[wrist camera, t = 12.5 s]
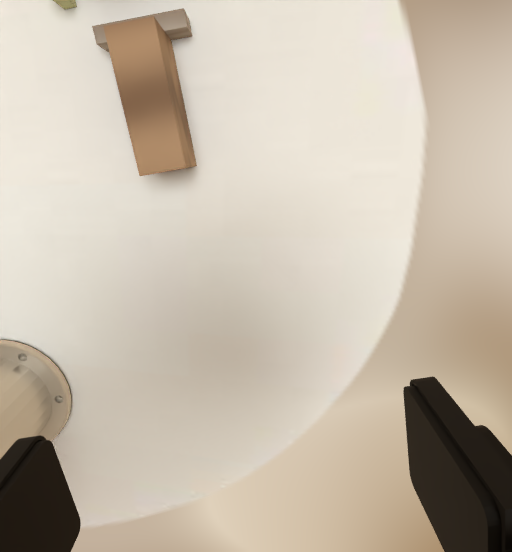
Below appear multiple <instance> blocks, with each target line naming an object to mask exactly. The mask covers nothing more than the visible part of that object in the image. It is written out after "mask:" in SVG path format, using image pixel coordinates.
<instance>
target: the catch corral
mask: <svg viewBox="0 0 512 552" xmlns="http://www.w3.org/2000/svg"><path fill="white" fill-rule="evenodd" d="M53 1H55V2H56V3H57V4H59V5H60V6H61V7H62V8H64V9H68V8H73V7H77V6H76V2H75V0H53Z"/></svg>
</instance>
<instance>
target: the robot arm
mask: <svg viewBox="0 0 512 552" xmlns="http://www.w3.org/2000/svg"><path fill="white" fill-rule="evenodd" d="M404 404H405V417H406V430H407V443H408V456H409V470H410V476H411V480H412V483H413V486H414V489H415V491H416V493H417V495H418V497H419V499H420V501H421V503H422V506H423V507H424V510H425V512H426V514H427V516H428V518H429V520H430V522H431V524H432V526H433V528H434V530H435V533H436V535H437V537H438V539H439V541H440V543H441V545H442V547H443V549H444V551H445V552H512V455H511V454H510V453H509V452H508V451H507V450H506V448H505V447H504V446H503V445H502V444H501V443H500V442H499V440H498V439H497V438H496V437H495V436H494V435H493V433H492V432H491V431H490V430H489V429H488V428H487V427H485V426H483V425H480V426H474V425H473V423H472V422H471V421H470V420H469V418H468V417H467V416H466V415H465V414H464V412H463V411H462V410H461V409H460V407H459V406H458V405H457V404H456V402H455V401H454V400H453V399H452V398H451V396H450V395H449V394H448V393H447V392H446V390H445V389H444V388H443V387H442V385H441V384H440V383H439V382H438V380H437V379H436V378H435V377H427V378H421V379H414V380H411V382H410V386H407V387H404ZM70 410H71V394H70V390H69V386H68V384H67V382H66V380H65V377H64V376H63V374H62V373H61V371H60V370H59V368H58V367H57V366H56V365H55V364H54V363H53V362H52V361H51V360H50V359H49V358H48V357H46V356H45V355H44V354H42V353H41V352H39V351H38V350H36V349H34V348H32V347H30V346H28V345H25V344H21V343H18V342H15V341H8V340H0V552H71V549H72V547H73V545H74V543H75V541H76V539H77V537H78V534H79V531H80V517H79V514H78V512H77V509H76V506H75V503H74V501H73V498H72V495H71V493H70V490H69V487H68V484H67V482H66V479H65V476H64V474H63V471H62V468H61V465H60V463H59V460H58V457H57V455H56V452H55V449H54V446H53V444H52V442H51V441H52V440H53V439H54V438H55V437H56V436H57V435H58V434H59V433H60V431H61V430H62V428H63V427H64V426H65V424H66V422H67V420H68V417H69V414H70Z"/></svg>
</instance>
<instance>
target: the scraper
mask: <svg viewBox="0 0 512 552" xmlns="http://www.w3.org/2000/svg"><path fill="white" fill-rule="evenodd" d="M92 27H93V31H94V35H95V39H96V43H97V45H99V46H100V47H102V48H103V49H104V50H106V51H107V52H110V56H111V60H112V64H113V68H114V73H115V77H116V81H117V85H118V89H119V93H120V97H121V101H122V105H123V109H124V114H125V118H126V122H127V126H128V130H129V134H130V138H131V142H132V146H133V150H134V155H135V159H136V163H137V167H138V171H139V175H140V176H143V175H149V174H155V173H160V172H166V171H172V170H177V169H183V168H189V167H194V166H197V165H196V160H195V155H194V150H193V145H192V140H191V135H190V130H189V125H188V121H187V116H186V111H185V106H184V101H183V96H182V91H181V86H180V81H179V76H178V71H177V67H176V62H175V57H174V52H173V47H172V42H171V40H175V39H180V38H185V37H191V36H192V32H191V27H190V22H189V18H188V16H187V14H186V12H185V10H184V9H178V10H173V11H168V12H163V13H158V14H153V15H148V16H143V17H137V18H132V19H127V20H122V21H117V22H112V23H107V24H101V25H96V26H92Z"/></svg>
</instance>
